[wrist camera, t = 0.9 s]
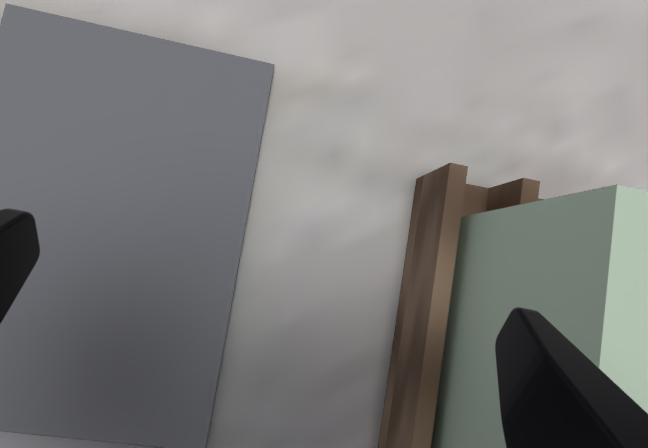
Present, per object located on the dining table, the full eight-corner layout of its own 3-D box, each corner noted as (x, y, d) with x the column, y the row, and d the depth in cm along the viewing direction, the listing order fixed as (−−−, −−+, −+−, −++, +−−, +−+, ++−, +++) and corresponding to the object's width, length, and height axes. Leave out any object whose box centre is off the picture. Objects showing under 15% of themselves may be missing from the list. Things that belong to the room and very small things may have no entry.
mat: (205, 447, 22) (204, 451, 21) (-89, 417, 20) (-97, 421, 19) (273, 68, 24) (274, 64, 23) (10, 9, 22) (5, 3, 21)
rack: (537, 566, 24) (596, 626, 20) (363, 553, 22) (388, 615, 19) (575, 210, 26) (635, 201, 22) (416, 178, 24) (450, 162, 20)
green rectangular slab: (435, 525, 22) (620, 777, 11) (402, 522, 22) (558, 777, 11) (474, 226, 24) (670, 195, 13) (443, 220, 23) (617, 184, 13)
